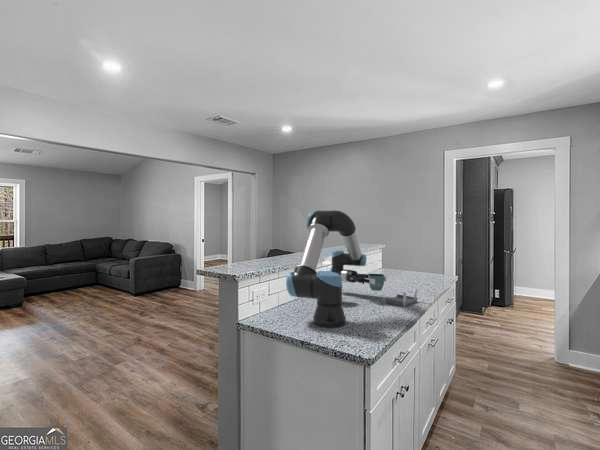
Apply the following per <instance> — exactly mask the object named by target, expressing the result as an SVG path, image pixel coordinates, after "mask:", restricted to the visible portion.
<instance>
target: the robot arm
mask: <svg viewBox="0 0 600 450" xmlns="http://www.w3.org/2000/svg"><path fill="white" fill-rule="evenodd" d="M306 221H307V222H306V229H308V233H309V234H308V237H307V239H306V240H307V241H306V244H305V247H304V249H303V252H302V256H301V259H300V262H299V264H298V265H297V266H295V267H294V270H293V271H290V272H288V274H287V277H286V289H287V292H288V294H289V295H290V296H291V297H295V298H297V299H298V298H302V299H303V298H304V299H313V300H316V307H315V311H314V314H313V316H312V317H313V321H312V323H313V324H314V325H316V326H319V327H322V328H338V327H343V326H344V325H346V323H347V318H346V315H345V312H344V308H343V282H345V283H348V282H349V283H353V284H355V283H359V284H361V283H362V285H365V284H369V283H370V284H375V279H369V278H368V274H369V273H358V271H356V270H352V269H346V268H345V269H344V267H345V266H350V267H351V266H353V267H365V266H366V265H367V259H368V258H367V255H366V254H365V253H362V252H361V248H360V244H359V241H358V238H357V235H356V226H355V222H354V220H353V219H352V218H351V217H350V216H349V215H348V214H346V212H343V211H341V210H315V211H314V210H313V211H311V212H310V213H309V214H308V216H307V218H306ZM330 232H338V233H339V235H341V236H342V239H343V241H344V245H345V248H346V250H347V253H344V250H342V249H334V250H332V252H331V267H330V268H329V269H328V270H318V271H316V269H317V266H318V263H319V259H320V256H321V252H322V250H323V246H324V241H325V239H326V238H327V237H328V236H329V235H330ZM384 282H385V283H386V282H387V276H385V278H384Z"/></svg>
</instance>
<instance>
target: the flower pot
mask: <svg viewBox="0 0 600 450" xmlns="http://www.w3.org/2000/svg"><path fill="white" fill-rule="evenodd" d="M367 274H368V278H369V279H375V284H370V283H368V285H369V288H370V289H371V291H373V292H375V291H379V292H380V291H382V290H383V288H384V285H385V283H384V282H385V281H384V278H385V277H386V276H385V275H384V274H382V273H367Z"/></svg>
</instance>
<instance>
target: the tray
mask: <svg viewBox="0 0 600 450" xmlns="http://www.w3.org/2000/svg"><path fill="white" fill-rule="evenodd" d="M385 303H386V304H390V305H394V306H400V307H409V306H410V305H411V306H412V305H413V304H416V303H418V289H417V288H413V296H409V295H407V292H403V293H402V294H399V293H398V294H396V296H394V297H391V298H389V297H386V298H385Z"/></svg>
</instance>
